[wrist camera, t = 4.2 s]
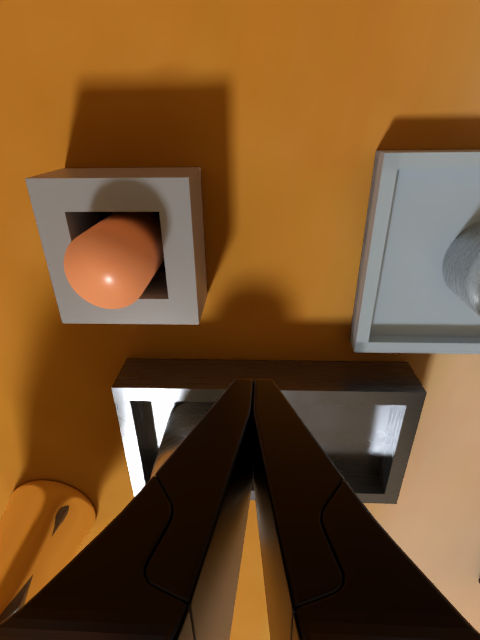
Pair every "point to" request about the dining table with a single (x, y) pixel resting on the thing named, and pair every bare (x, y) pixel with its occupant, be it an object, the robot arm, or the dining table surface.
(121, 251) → the brown egg
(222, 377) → the grey divided tray
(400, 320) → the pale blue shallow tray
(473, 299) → the cylinder
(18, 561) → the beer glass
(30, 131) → the dining table surface
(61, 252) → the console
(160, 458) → the cylinder
